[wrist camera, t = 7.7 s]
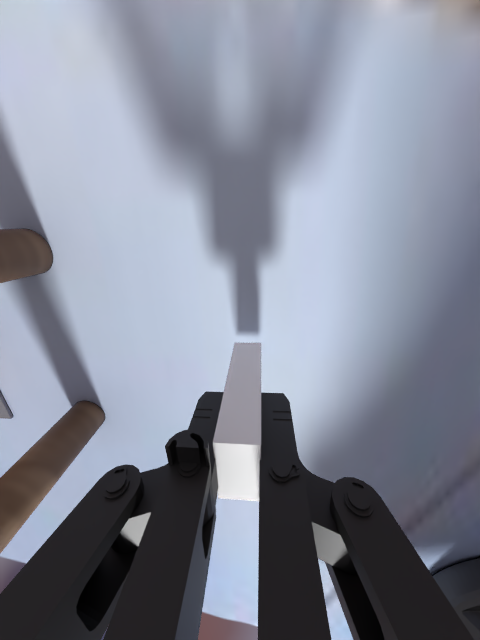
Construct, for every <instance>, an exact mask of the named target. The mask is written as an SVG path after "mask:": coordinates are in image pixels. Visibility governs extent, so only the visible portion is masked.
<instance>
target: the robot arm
mask: <svg viewBox="0 0 480 640" xmlns="http://www.w3.org/2000/svg"><path fill="white" fill-rule="evenodd" d="M165 448H166V453H167V458H168V464H166V465H165V466H162V467H160V468H157V469H153V470H149V471H145V472H141V473H140V472H139V469H138V468H136V467H135V466H133V465H122V466H118V467H115V468H114V469H112V470H110V471H108V472H107V473H106V474H105V475H104V476H103V477H102V478H100V479H99V481H98V482H97V483H96V484H95V485H94V486H93V488H92V489H91V490H90V491H89V492H88V493H87V494H86V496H85V497H84V498H83V499H82V500H81V501H80V503H79V504H78V505H77V506H76V507H75V508H74V509H73V511H72V512H71V513H70V514H69V515H68V516H67V518H66V519H65V520H64V521H63V522H62V523H61V524H60V526H59V527H58V528H57V529H56V530H55V531H54V533H53V534H52V535H51V536H50V537H49V538H48V539H47V541H46V542H45V543H44V544H43V545H42V546H41V548H40V549H39V550H38V551H37V552H36V553H35V554H34V556H33V557H32V558H31V559H30V560H29V561H28V563H27V564H26V565H25V566H24V567H23V568H22V569H21V571H20V572H19V573H18V574H17V575H16V577H15V578H14V579H13V580H12V581H11V582H10V583H9V585H8V586H7V587H6V588H5V589H4V590H3V591H2V593H1V594H0V640H101V638H102V636H103V634H104V632H105V631H106V629H107V627H108V629H107V631H106V634H105V637H104V639H103V640H198V633H199V627H200V621H201V614H202V607H203V601H204V594H205V587H206V581H207V574H208V567H209V561H210V554H211V547H212V541H213V534H214V527H215V521H216V508H215V505H216V499H217V492H218V498H221V499H235V500H249V501H259V581H258V640H331V635H330V629H329V623H328V617H327V611H326V605H325V599H324V593H323V587H322V581H321V575H320V569H319V563H318V558H319V559H321V560H322V561H324V562H325V563H326V566H327V569H328V571H329V574H330V577H331V580H332V582H333V585H334V588H335V591H336V593H337V596H338V599H339V601H340V604H341V607H342V610H343V612H344V615H345V618H346V620H347V623H348V626H349V629H350V631H351V634H352V637H353V639H354V640H480V558H479V559H474V560H470V561H466V562H462V563H459V564H456V565H453V566H451V567H448V568H446V569H444V570H442V571H440V572H438V573H437V574H435V575H434V576H432V575H431V573H430V572H429V570H428V569H427V567H426V566H425V564H424V563H423V561H422V560H421V558H420V557H419V555H418V554H417V552H416V550H415V549H414V547H413V546H412V544H411V543H410V541H409V540H408V538H407V537H406V535H405V534H404V532H403V531H402V529H401V528H400V526H399V525H398V523H397V522H396V520H395V519H394V517H393V516H392V514H391V512H390V511H389V509H388V508H387V506H386V505H385V503H384V502H383V500H382V499H381V497H380V496H379V495H378V494H377V493H376V491H375V490H374V489H373V488H372V487H371V486H369V485H368V484H366V483H365V482H364V481H361V480H359V479H356V478H352V477H344V478H342V479H339V480H337V481H336V483H333V482H330V481H328V480H325V479H322V478H320V477H318V476H316V475H314V474H312V473H311V472H310V471H308V470H307V469H306V468H305V467H304V466H303V464H302V463H301V461H300V459H299V457H298V453H297V447H296V441H295V435H294V428H293V422H292V415H291V409H290V403H289V401H288V399H287V398H286V396H285V395H284V394H283V393H261V343H234V348H233V352H232V357H231V361H230V366H229V371H228V375H227V380H226V384H225V389H224V392H205V393H204V394H203V395H202V396H201V397H200V399H199V400H198V403H197V406H196V409H195V411H194V414H193V418H192V420H191V423H190V426H189V428H188V430H184V431H182V432H179V433H177V434H175V435H174V436H173V437H172V438H170V439H169V441H168V442H167V444H166V445H165ZM108 625H109V626H108Z"/></svg>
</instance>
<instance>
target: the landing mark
mask: <svg viewBox="0 0 480 640" xmlns="http://www.w3.org/2000/svg"><path fill="white" fill-rule="evenodd" d="M0 418H7V419H11V418H13V415H12V413H11V411H10V409H9V407H8V405H7V404H6V402H5V400H4V398H3V396H2V394H1V392H0Z"/></svg>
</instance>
